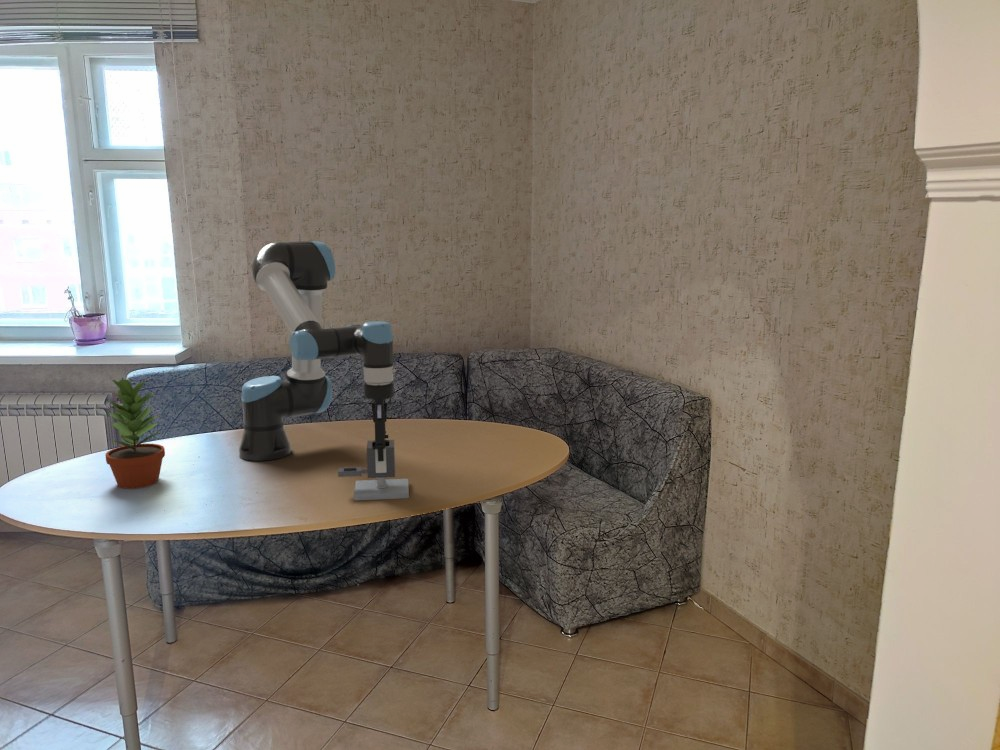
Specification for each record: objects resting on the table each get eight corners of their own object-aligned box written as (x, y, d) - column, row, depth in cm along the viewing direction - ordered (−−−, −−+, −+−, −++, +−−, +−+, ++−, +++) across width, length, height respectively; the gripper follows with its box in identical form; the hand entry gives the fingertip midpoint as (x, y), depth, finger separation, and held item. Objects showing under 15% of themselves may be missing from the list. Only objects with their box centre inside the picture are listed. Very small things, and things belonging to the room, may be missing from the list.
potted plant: (180, 478, 210) (171, 372, 204) (130, 495, 197) (119, 382, 191) (146, 469, 217) (137, 366, 211) (96, 484, 204) (84, 376, 198)
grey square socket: (337, 479, 194) (336, 449, 193) (339, 470, 201) (338, 441, 200) (395, 476, 196) (394, 447, 195) (395, 468, 203) (394, 439, 201)
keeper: (353, 500, 194) (352, 472, 193) (356, 485, 205) (355, 459, 203) (408, 498, 196) (408, 470, 194) (408, 483, 207) (407, 457, 205)
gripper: (393, 390, 185) (395, 479, 190) (393, 374, 205) (395, 455, 209) (362, 390, 184) (365, 480, 189) (365, 375, 204) (368, 456, 208)
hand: (381, 467), depth 199 cm, fingers closed on grey square socket, 7 cm apart
